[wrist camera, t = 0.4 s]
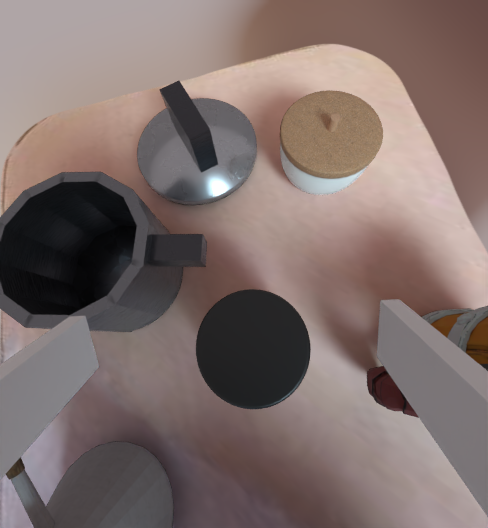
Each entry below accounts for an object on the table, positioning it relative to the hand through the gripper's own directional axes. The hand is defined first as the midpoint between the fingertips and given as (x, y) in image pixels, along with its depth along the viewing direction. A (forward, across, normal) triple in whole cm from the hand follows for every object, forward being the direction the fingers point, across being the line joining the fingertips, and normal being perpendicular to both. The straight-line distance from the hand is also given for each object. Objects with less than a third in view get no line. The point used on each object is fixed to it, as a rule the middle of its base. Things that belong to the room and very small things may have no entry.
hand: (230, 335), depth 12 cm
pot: (+20, +13, +3) cm, 24 cm away
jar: (+16, 0, +11) cm, 19 cm away
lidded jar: (+28, -10, -7) cm, 30 cm away
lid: (+29, +6, -11) cm, 32 cm away
